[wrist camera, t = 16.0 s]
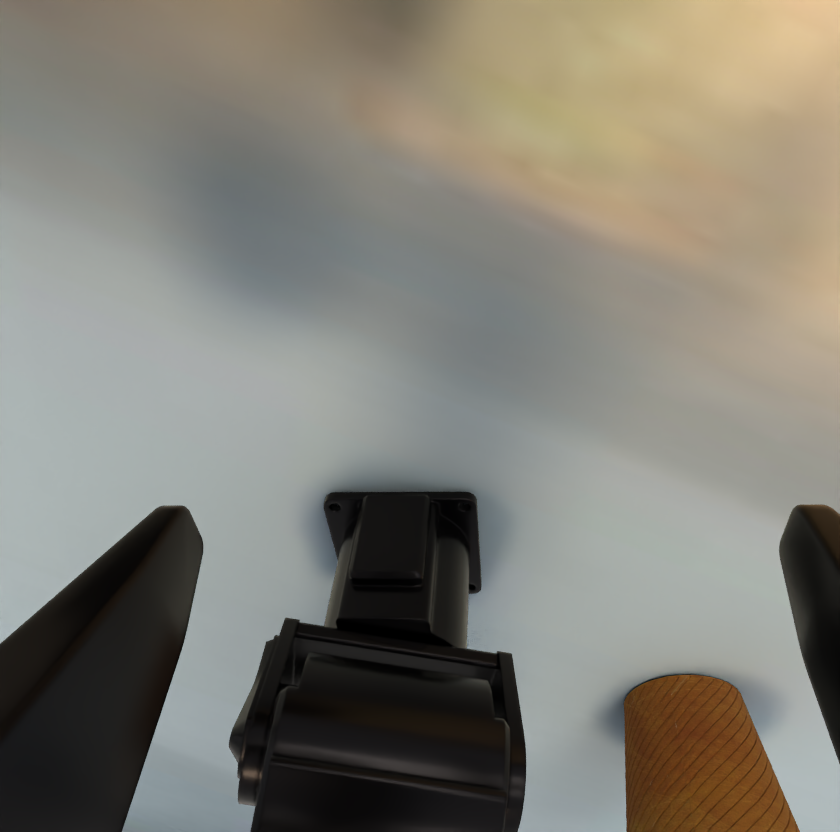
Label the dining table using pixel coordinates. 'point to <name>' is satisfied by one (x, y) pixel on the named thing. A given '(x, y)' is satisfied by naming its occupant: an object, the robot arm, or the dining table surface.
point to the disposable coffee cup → (697, 761)
